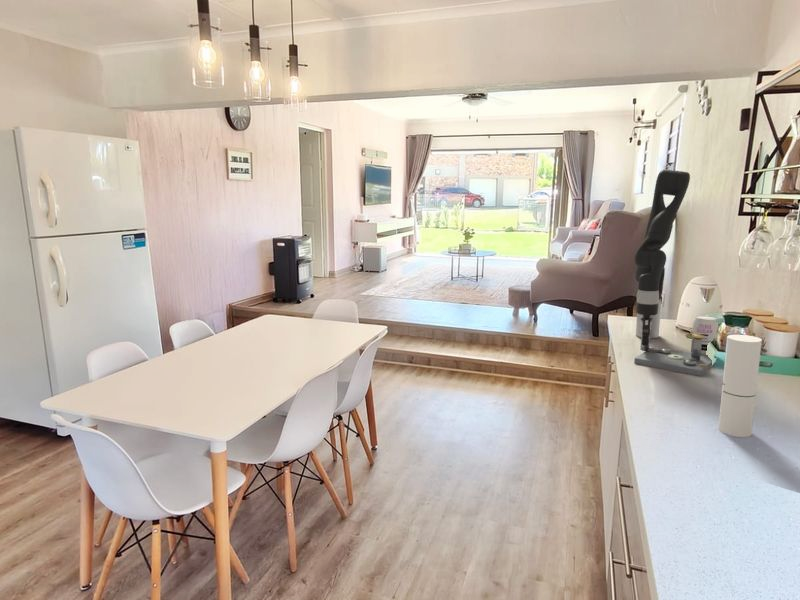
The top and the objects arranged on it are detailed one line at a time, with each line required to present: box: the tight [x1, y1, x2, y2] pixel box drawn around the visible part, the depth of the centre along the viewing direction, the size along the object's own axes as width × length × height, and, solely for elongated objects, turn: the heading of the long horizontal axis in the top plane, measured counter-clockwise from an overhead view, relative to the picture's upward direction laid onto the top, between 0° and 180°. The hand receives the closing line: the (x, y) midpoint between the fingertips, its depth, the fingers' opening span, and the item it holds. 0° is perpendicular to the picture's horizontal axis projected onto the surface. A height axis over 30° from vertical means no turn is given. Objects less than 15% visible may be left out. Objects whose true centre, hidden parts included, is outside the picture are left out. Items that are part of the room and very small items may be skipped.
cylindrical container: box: [718, 334, 763, 438], centre depth 126 cm, size 7×7×25 cm
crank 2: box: [683, 334, 703, 366], centre depth 176 cm, size 11×4×9 cm, turn 135°
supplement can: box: [690, 315, 719, 355], centre depth 189 cm, size 8×8×15 cm
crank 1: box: [639, 331, 671, 354], centre depth 189 cm, size 11×4×9 cm, turn 66°
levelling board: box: [633, 346, 713, 377], centre depth 183 cm, size 20×22×2 cm
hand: (644, 342), depth 191 cm, fingers open, 8 cm apart
